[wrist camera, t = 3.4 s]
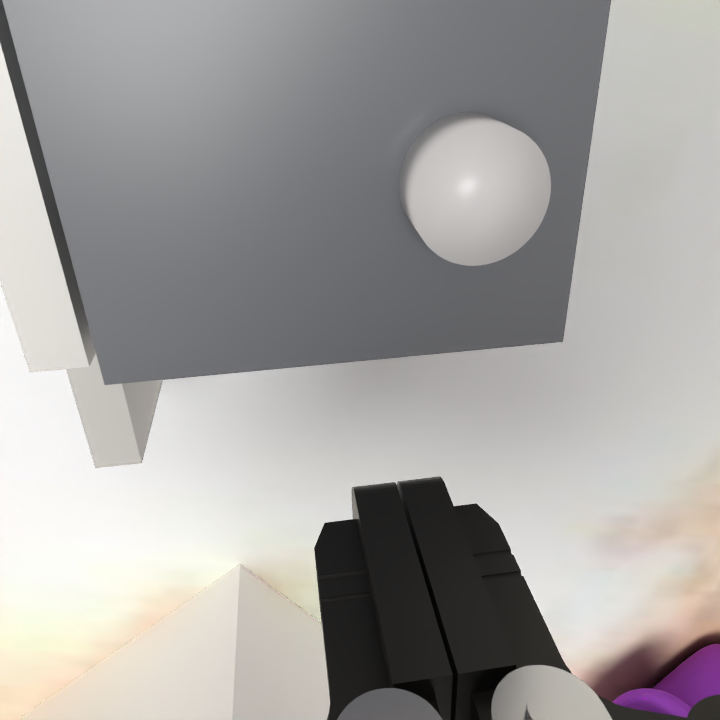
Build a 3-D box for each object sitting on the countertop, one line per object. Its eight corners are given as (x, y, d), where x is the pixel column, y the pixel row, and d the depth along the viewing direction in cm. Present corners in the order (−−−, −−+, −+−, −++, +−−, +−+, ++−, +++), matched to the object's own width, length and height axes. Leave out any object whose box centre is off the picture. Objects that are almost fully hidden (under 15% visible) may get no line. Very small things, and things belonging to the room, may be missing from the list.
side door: (-32, -308, 12) (-317, -610, 6) (42, -307, 12) (-165, -601, 6) (127, 356, 19) (68, 519, 13) (172, 352, 19) (134, 511, 13)
